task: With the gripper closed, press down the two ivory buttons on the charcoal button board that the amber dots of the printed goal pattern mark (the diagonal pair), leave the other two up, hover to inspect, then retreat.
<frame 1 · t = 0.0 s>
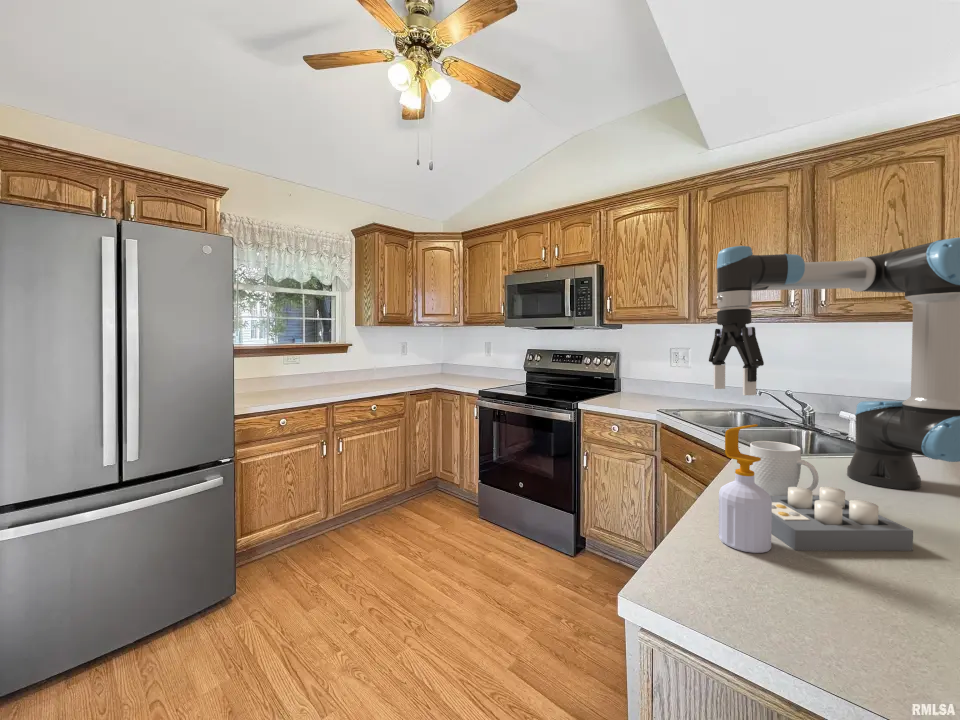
hand: (733, 391, 106), 28 cm above the counter, fingers open, 13 cm apart
button D: (828, 514, 85), point 5 cm above the counter, slide at 0.0 cm
soap bottle: (744, 543, 84), on the counter
button board: (817, 529, 89), on the counter
mug: (779, 496, 109), on the counter
button A: (832, 499, 93), point 5 cm above the counter, slide at 0.0 cm
button C: (799, 500, 93), point 5 cm above the counter, slide at 0.0 cm
button B: (863, 514, 85), point 5 cm above the counter, slide at 0.0 cm
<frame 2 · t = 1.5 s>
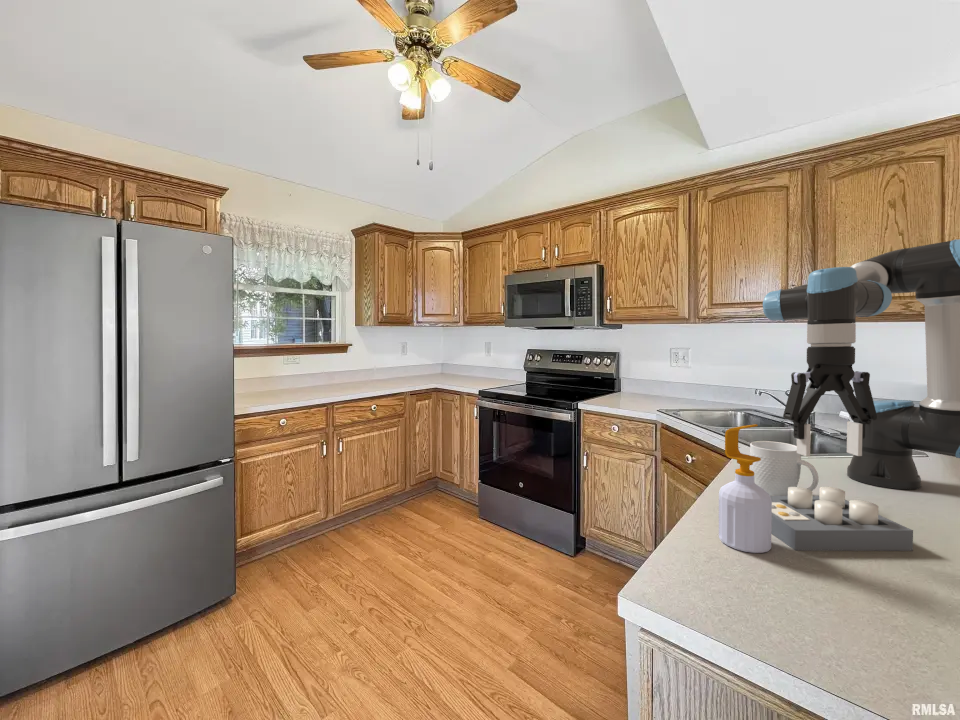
hand: (828, 454, 85), 18 cm above the counter, fingers open, 9 cm apart
nothing on the counter moved.
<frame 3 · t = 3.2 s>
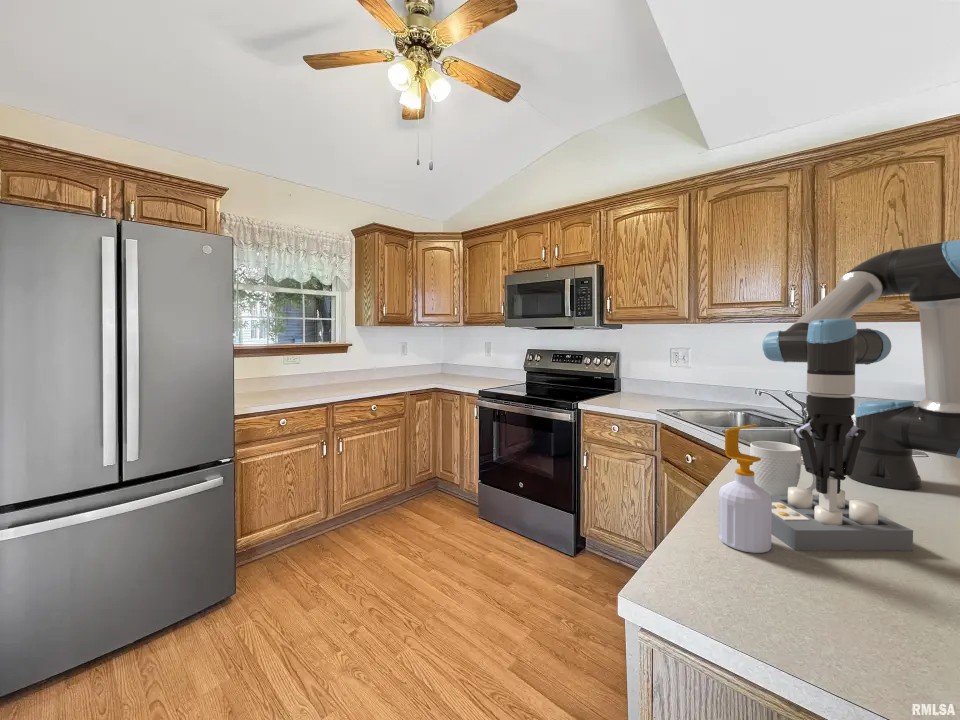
hand: (827, 508, 85), 6 cm above the counter, fingers closed
button D: (828, 520, 85), point 4 cm above the counter, slide at 1.1 cm, touching gripper
everything else where it was.
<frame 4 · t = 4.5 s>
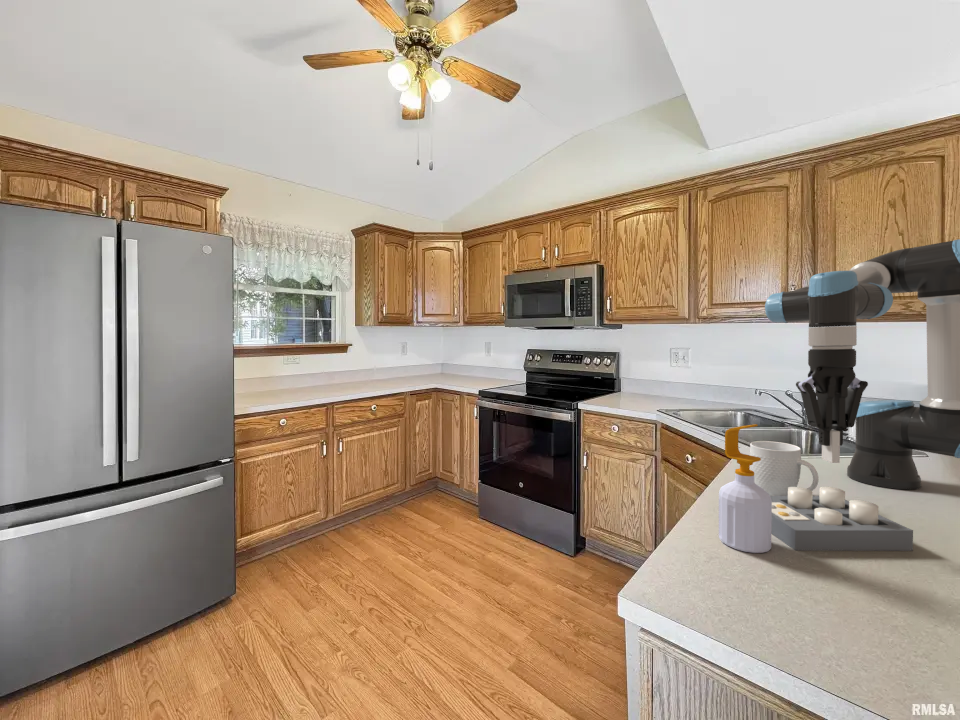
hand: (830, 460, 86), 16 cm above the counter, fingers closed
button D: (828, 522, 85), point 3 cm above the counter, slide at 1.6 cm
everything else where it was.
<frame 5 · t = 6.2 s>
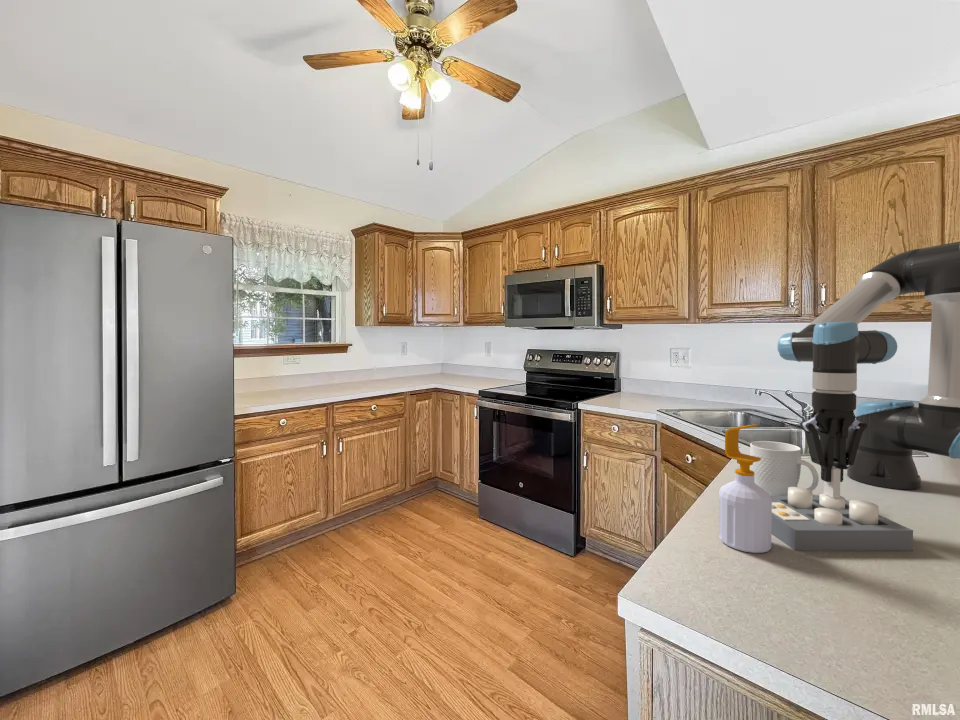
hand: (831, 495, 93), 6 cm above the counter, fingers closed
button A: (831, 506, 93), point 3 cm above the counter, slide at 1.5 cm, touching gripper
everything else where it was.
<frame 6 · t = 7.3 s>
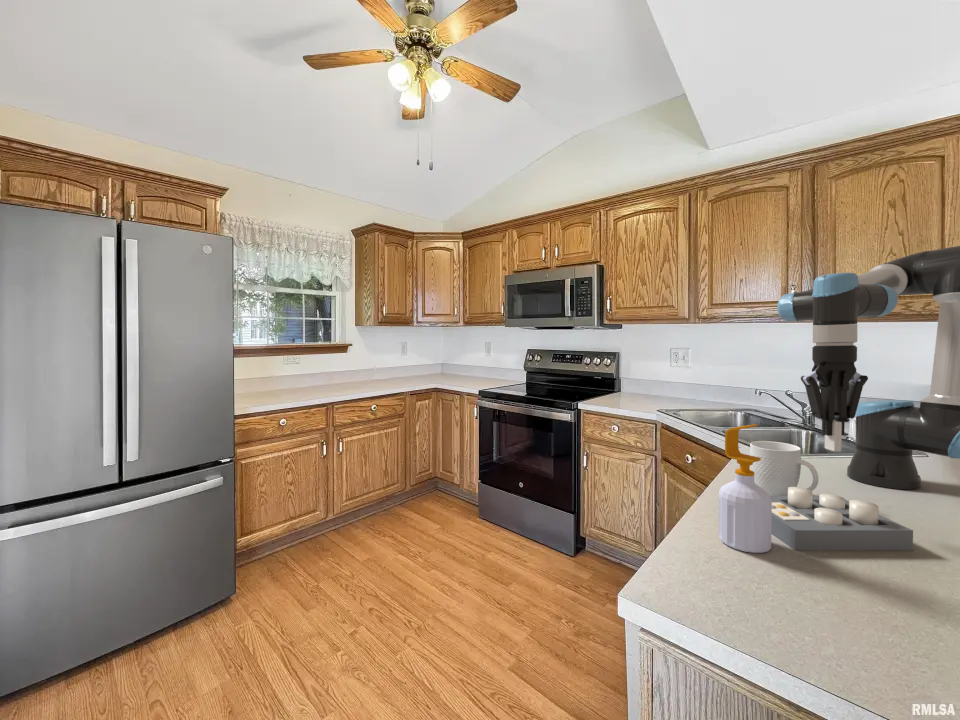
hand: (832, 449, 92), 16 cm above the counter, fingers closed
button A: (831, 507, 93), point 3 cm above the counter, slide at 1.7 cm
everything else where it was.
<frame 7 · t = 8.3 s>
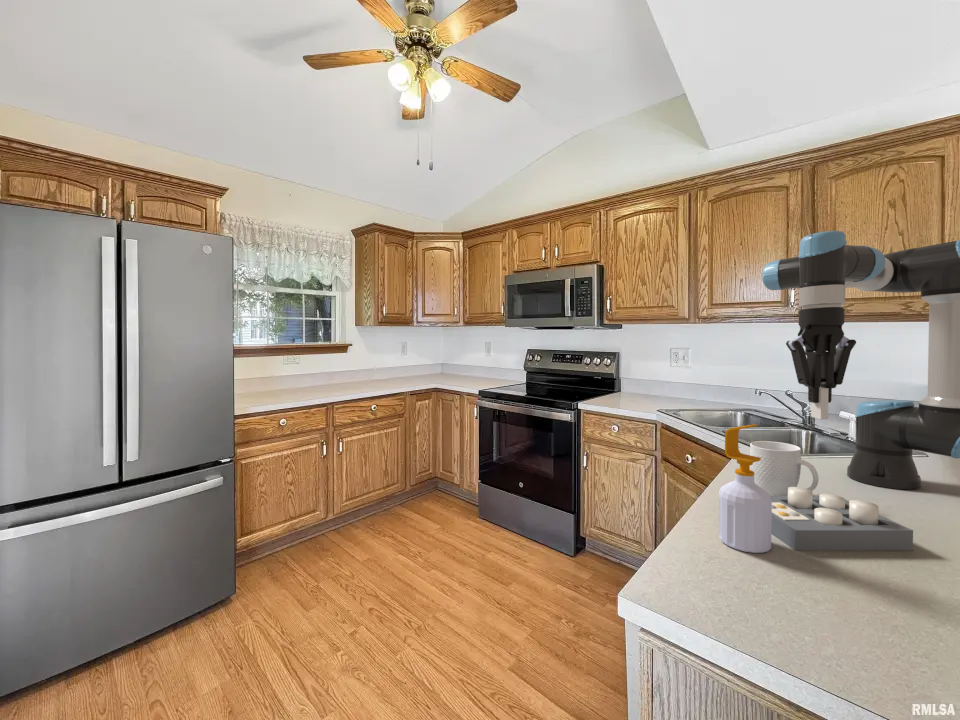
hand: (819, 417, 88), 24 cm above the counter, fingers closed
nothing on the counter moved.
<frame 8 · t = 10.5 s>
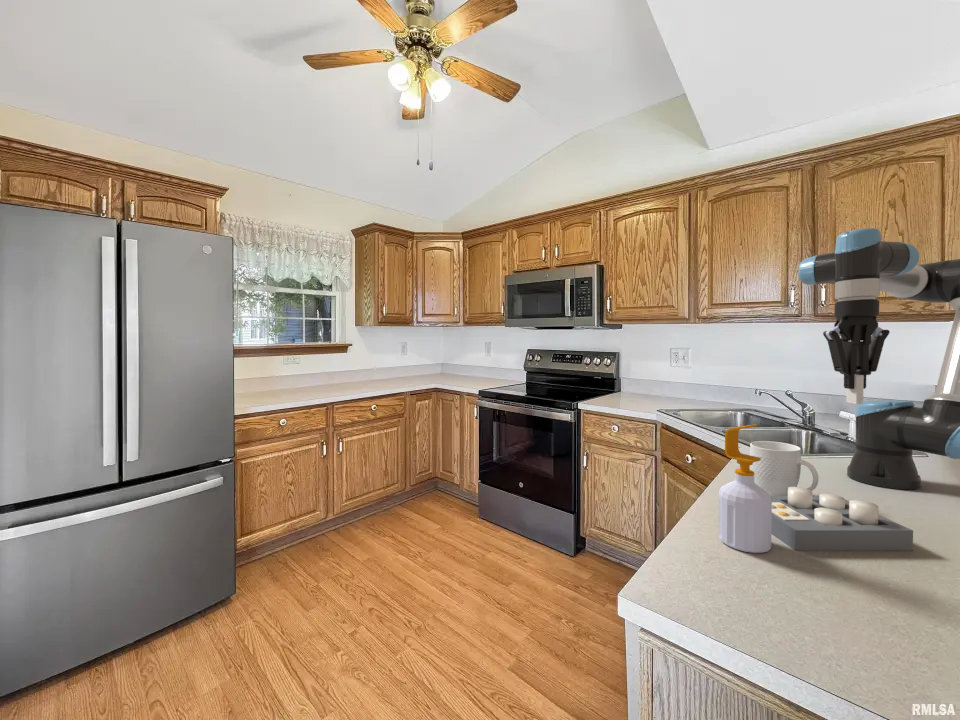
hand: (854, 402, 94), 26 cm above the counter, fingers closed
nothing on the counter moved.
at the end: button D slide at 1.6 cm; button A slide at 1.7 cm; button B slide at 0.0 cm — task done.
